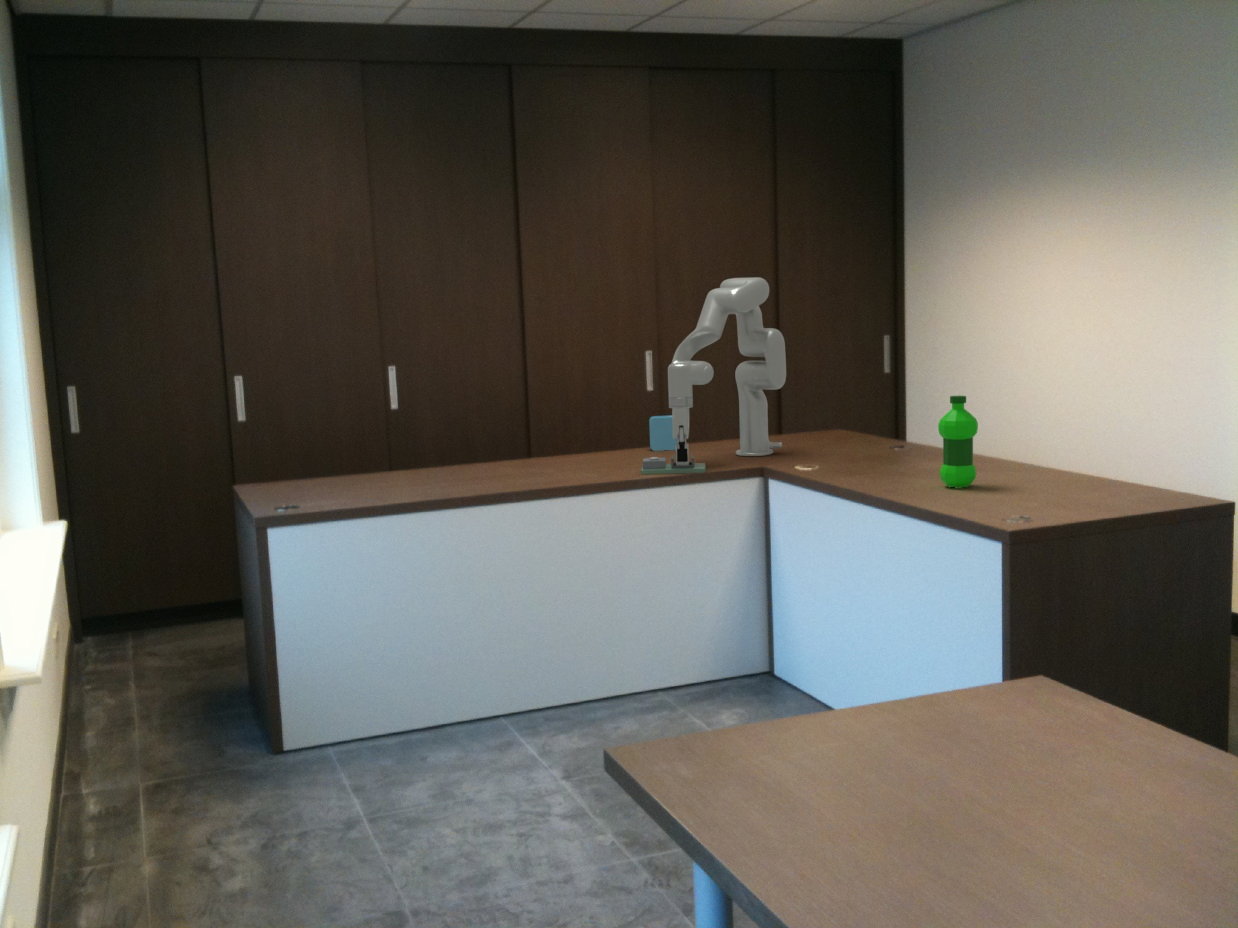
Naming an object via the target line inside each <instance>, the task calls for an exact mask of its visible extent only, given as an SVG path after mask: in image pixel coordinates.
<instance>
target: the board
mask: <svg viewBox="0 0 1238 928" xmlns="http://www.w3.org/2000/svg"><path fill="white" fill-rule="evenodd" d="M690 457H691V459H690V460H691V461H689V465H676V462H675V456H674V455H671V457H670V458H671V459H670V461H671V462H670V463H668V464H667V463H666V462H667V461H666V457H659V456H652V457H645V458H644V457H643V459H642V466H641V470H640V474H641V475H669V474H696V473H697V474H700V473H701V474H703V473H706V463H705V462H695V455H694V454H692V455H691V456H690Z"/></svg>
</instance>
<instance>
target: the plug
mask: <svg viewBox="0 0 1238 928" xmlns="http://www.w3.org/2000/svg"><path fill="white" fill-rule="evenodd" d="M677 449H678V443H676V450H675V463H676V465H689V462H690V459H689V458H690V453H689V451H690V450H689V442H686V449H687V458H688V461H687V462H678V461H677Z"/></svg>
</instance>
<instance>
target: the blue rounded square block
mask: <svg viewBox="0 0 1238 928" xmlns="http://www.w3.org/2000/svg"><path fill="white" fill-rule="evenodd" d="M648 424H649V427H648V428H649V446H650V450H652V451H653V452H665V451H664V450H669V451H676V443H678V441H677V438H675V440H674V439H673V429H672V414H671V415H654V416H650V417H649V420H648Z"/></svg>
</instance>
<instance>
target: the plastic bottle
mask: <svg viewBox="0 0 1238 928" xmlns="http://www.w3.org/2000/svg"><path fill="white" fill-rule="evenodd" d="M949 404H951V409H950V410H949V411H948V412H947V413H945V415H943V417H941V419H940V420H939V422H938V429H937V430H938V433H939V435H940V437H942V445H943V448H942V449H943V452H942V457H943V458H942V459H943V460H942V462H943V463H942V465H941V467H940V470H939V478H940V480H941V481H942V483H944V485H946V486H950V487H967V486H968V487H969V486H970V485H971V484H972V483H973V482H974V481H975V479H976V476H977V469H976V468H977V467H976V466H975V464H974V437H975V436H976V435H977V433H978V430H979V429H978V428H979V422H978V420H977V418H976V417H975V416H974V415H973V414H972V413H970V412H969V411H968V410H967V409H965V404H967V396H966V395H950V396H949ZM950 487H949V488H950ZM968 487H967V488H968Z"/></svg>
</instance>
